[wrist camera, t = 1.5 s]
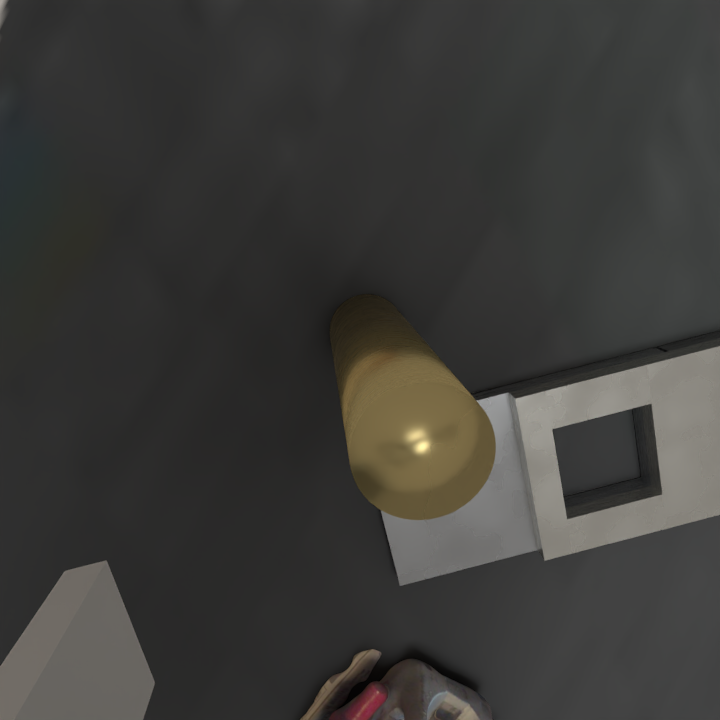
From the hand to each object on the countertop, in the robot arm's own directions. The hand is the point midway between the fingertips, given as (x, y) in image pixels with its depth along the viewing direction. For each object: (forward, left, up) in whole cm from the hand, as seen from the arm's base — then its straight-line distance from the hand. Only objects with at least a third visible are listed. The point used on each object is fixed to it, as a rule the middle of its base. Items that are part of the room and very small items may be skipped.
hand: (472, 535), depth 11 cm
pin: (0, 0, -19) cm, 19 cm away
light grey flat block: (+14, -9, -19) cm, 25 cm away
